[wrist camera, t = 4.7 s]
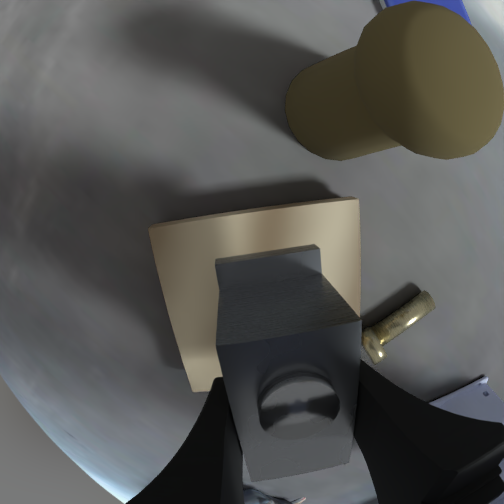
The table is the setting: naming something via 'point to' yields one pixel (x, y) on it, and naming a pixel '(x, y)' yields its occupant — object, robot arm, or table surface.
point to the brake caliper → (265, 498)
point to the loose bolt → (395, 325)
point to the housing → (287, 361)
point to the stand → (239, 243)
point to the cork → (401, 89)
